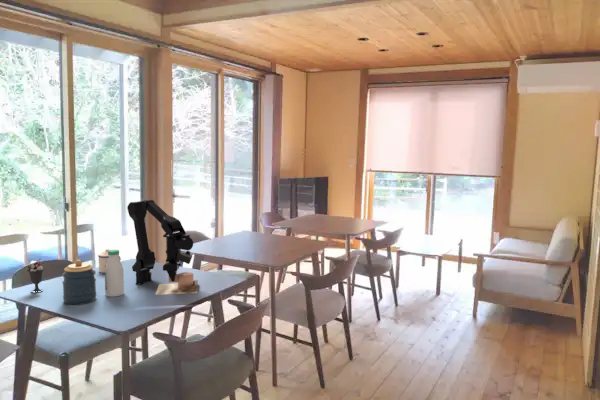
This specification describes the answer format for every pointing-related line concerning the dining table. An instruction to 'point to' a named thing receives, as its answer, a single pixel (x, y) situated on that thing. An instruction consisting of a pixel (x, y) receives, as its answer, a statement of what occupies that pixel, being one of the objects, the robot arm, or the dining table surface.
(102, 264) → the teacup with lid
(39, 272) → the sundae
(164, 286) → the cradle
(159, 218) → the robot arm
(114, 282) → the milk bottle
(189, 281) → the peach dome with handle
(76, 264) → the canister
